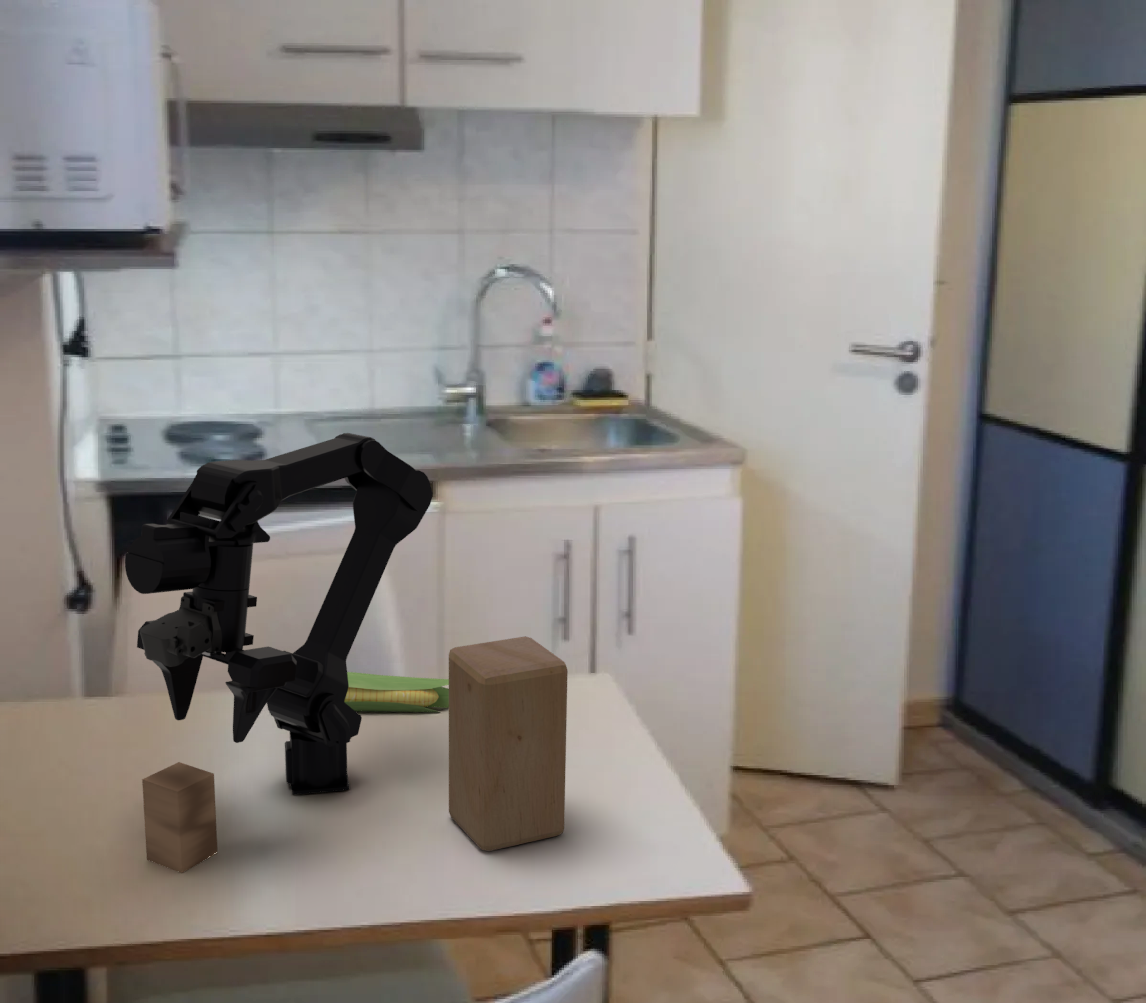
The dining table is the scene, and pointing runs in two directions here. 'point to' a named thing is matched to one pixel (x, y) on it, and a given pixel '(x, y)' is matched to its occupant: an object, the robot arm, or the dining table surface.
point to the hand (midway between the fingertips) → (208, 730)
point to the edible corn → (395, 693)
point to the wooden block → (507, 742)
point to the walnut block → (180, 816)
